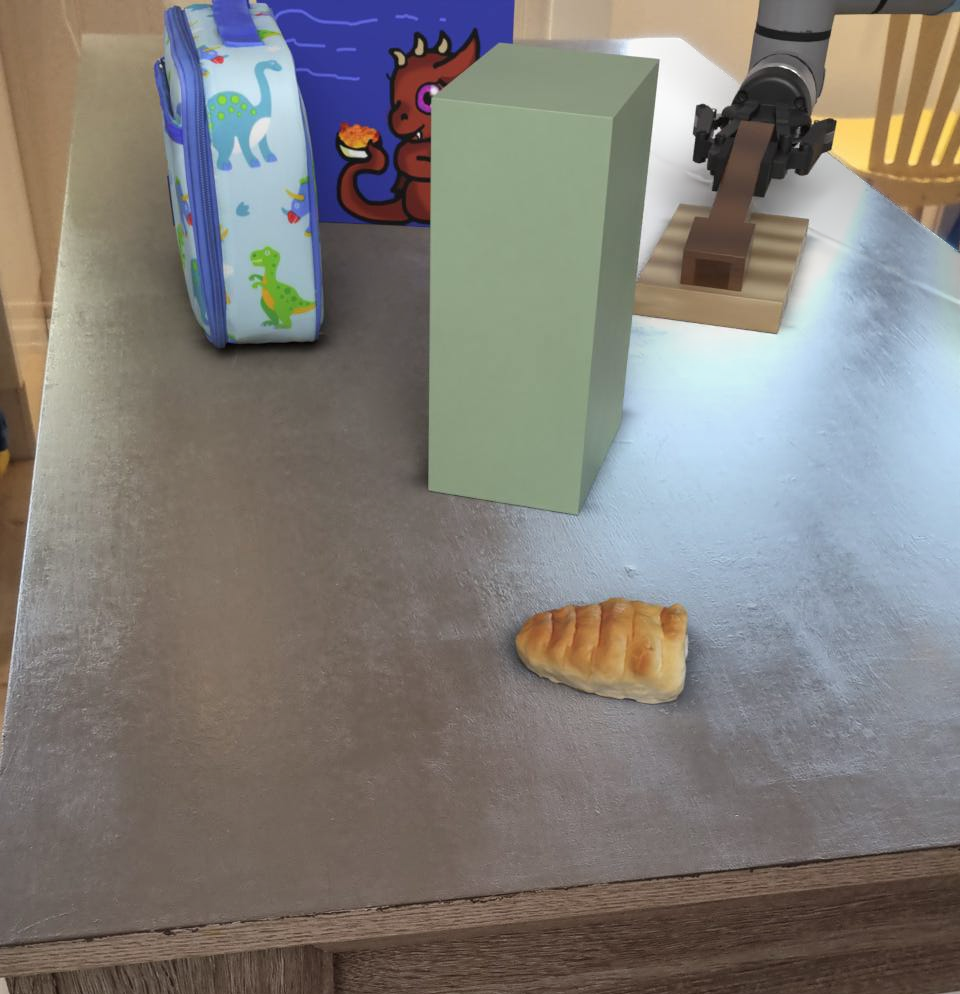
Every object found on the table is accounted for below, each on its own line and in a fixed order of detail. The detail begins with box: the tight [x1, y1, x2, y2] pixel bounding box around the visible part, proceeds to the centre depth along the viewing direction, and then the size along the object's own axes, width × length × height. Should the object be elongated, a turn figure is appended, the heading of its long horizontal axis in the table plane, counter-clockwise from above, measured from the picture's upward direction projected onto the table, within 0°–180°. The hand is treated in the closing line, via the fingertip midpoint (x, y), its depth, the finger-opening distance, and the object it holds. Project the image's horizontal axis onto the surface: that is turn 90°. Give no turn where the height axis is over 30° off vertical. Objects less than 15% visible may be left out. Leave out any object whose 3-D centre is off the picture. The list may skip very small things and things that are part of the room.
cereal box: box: [255, 0, 516, 228], centre depth 119 cm, size 22×6×30 cm, turn 88°
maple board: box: [633, 202, 810, 334], centre depth 119 cm, size 22×12×2 cm, turn 164°
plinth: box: [427, 43, 661, 516], centre depth 85 cm, size 14×10×23 cm
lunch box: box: [153, 0, 325, 349], centre depth 104 cm, size 26×11×21 cm, turn 12°
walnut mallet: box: [680, 121, 774, 292], centre depth 116 cm, size 22×5×3 cm, turn 164°
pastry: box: [514, 596, 690, 705], centre depth 73 cm, size 9×7×4 cm
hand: (740, 177), depth 116 cm, fingers closed on walnut mallet, 3 cm apart
